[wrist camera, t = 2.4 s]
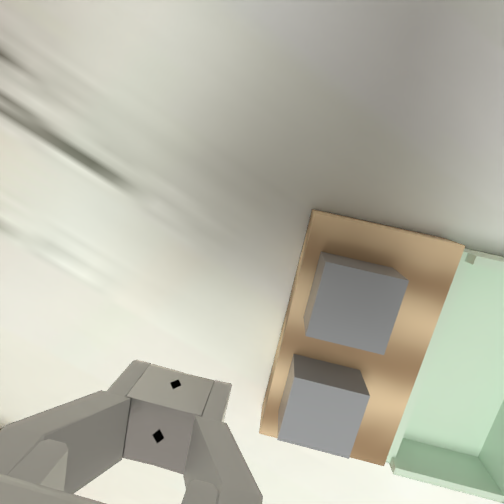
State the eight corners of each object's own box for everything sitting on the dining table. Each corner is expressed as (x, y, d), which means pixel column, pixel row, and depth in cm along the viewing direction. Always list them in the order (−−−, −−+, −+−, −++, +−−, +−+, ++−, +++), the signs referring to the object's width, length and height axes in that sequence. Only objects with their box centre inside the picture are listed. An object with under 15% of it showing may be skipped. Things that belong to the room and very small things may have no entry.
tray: (442, 243, 24) (471, 254, 21) (564, 270, 24) (618, 287, 20) (375, 433, 28) (389, 472, 24) (479, 459, 28) (510, 505, 24)
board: (312, 209, 25) (315, 212, 22) (444, 238, 24) (465, 245, 21) (262, 408, 29) (259, 433, 26) (373, 436, 28) (383, 466, 25)
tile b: (293, 353, 24) (294, 376, 21) (360, 370, 24) (370, 395, 21) (278, 410, 25) (277, 439, 23) (341, 426, 25) (348, 458, 22)
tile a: (320, 251, 22) (325, 261, 20) (392, 267, 22) (409, 280, 19) (303, 317, 24) (305, 336, 21) (371, 333, 23) (383, 355, 20)
